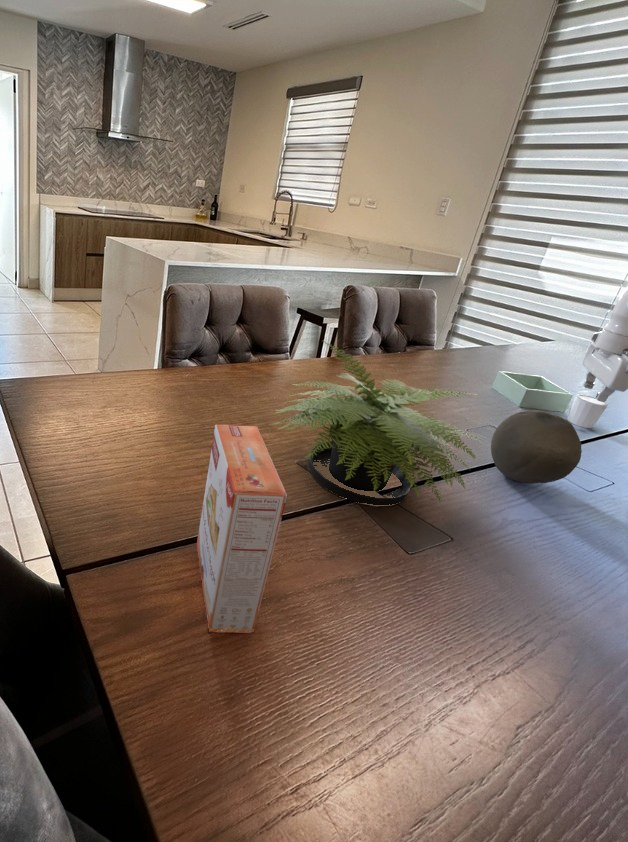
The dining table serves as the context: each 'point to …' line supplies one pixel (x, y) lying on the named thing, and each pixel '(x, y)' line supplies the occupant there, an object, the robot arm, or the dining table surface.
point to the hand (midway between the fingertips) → (593, 393)
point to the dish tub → (532, 391)
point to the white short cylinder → (586, 411)
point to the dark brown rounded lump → (535, 447)
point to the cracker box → (238, 526)
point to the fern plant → (375, 436)
